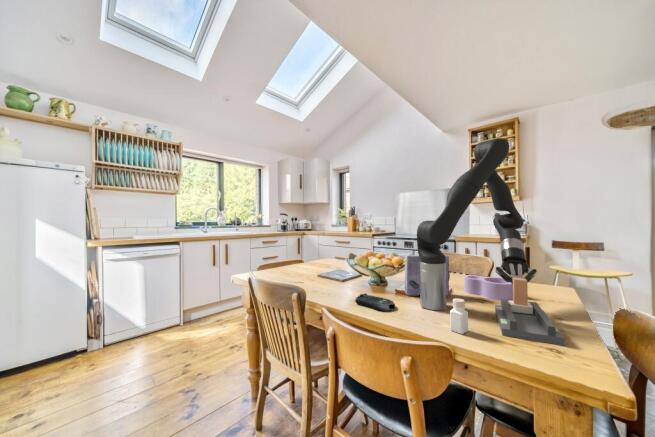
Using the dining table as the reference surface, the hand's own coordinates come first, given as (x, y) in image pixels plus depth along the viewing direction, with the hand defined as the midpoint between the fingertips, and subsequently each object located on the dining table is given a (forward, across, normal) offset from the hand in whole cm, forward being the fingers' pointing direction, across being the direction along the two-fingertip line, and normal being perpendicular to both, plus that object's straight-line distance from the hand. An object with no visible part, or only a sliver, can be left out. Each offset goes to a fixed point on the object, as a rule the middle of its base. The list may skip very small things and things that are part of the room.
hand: (518, 292), depth 91 cm
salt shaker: (+22, -18, -10) cm, 30 cm away
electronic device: (+14, -48, -2) cm, 50 cm away
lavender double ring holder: (-9, -7, +21) cm, 24 cm away
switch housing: (+12, 0, -1) cm, 12 cm away
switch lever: (+6, 0, +2) cm, 6 cm away
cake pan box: (-2, -31, +14) cm, 34 cm away
